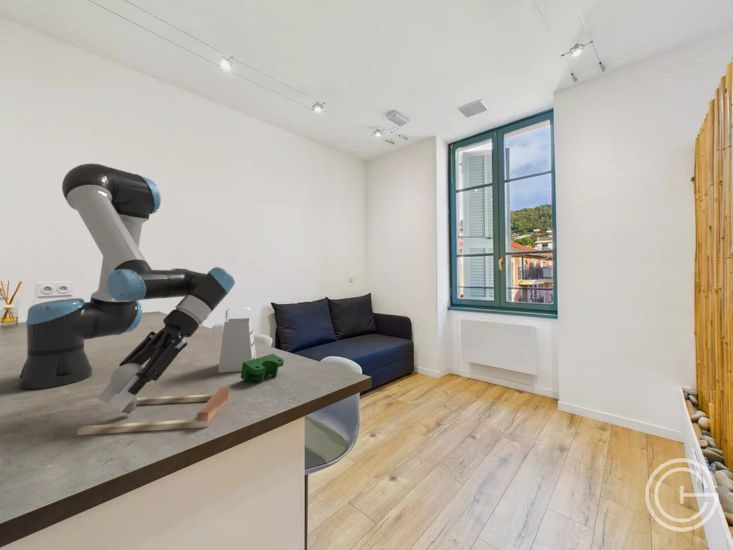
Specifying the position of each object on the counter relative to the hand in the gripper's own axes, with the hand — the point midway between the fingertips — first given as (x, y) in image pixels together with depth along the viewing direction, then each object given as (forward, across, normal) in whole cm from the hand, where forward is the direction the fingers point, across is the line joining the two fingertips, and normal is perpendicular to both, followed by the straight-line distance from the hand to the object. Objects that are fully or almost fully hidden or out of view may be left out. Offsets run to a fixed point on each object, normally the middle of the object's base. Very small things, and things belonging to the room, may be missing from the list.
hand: (108, 403), depth 64 cm
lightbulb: (0, 0, -5) cm, 5 cm away
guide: (-3, -6, -8) cm, 11 cm away
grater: (-25, +10, -31) cm, 40 cm away
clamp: (-22, -6, -28) cm, 36 cm away
